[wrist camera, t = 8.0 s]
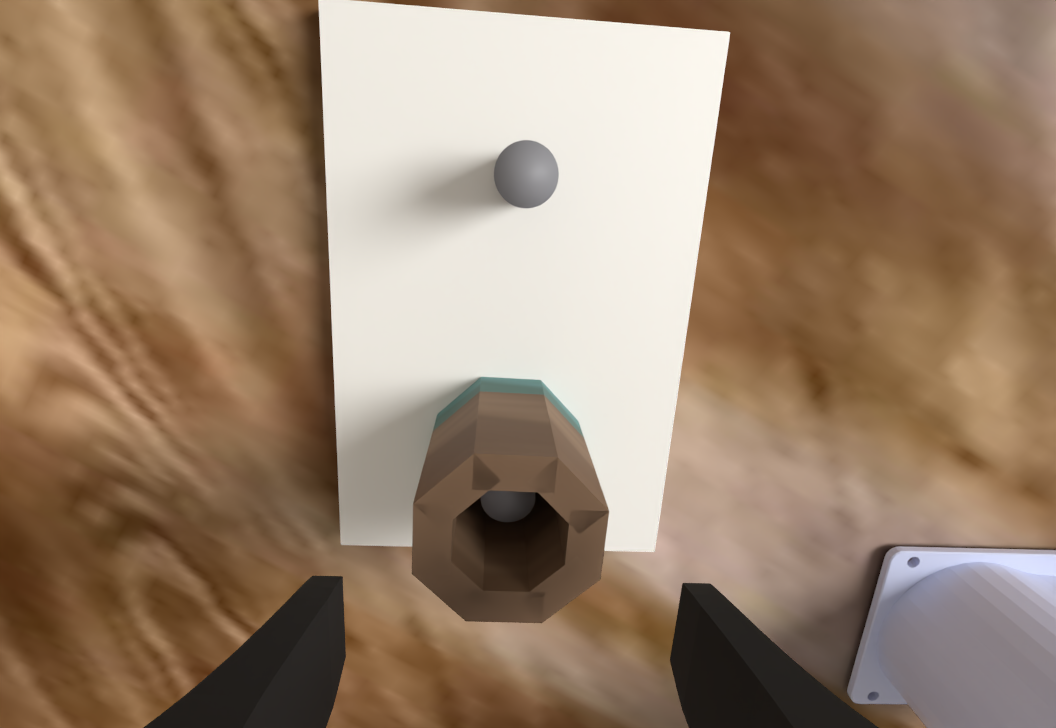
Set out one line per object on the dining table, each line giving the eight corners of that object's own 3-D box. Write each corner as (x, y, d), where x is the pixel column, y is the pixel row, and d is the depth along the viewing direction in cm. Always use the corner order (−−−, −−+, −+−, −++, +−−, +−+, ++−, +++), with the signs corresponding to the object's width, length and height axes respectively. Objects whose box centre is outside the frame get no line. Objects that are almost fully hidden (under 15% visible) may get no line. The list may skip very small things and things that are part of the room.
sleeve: (582, 382, 20) (616, 459, 14) (568, 507, 21) (594, 624, 16) (438, 374, 20) (413, 450, 14) (434, 502, 21) (411, 619, 15)
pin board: (717, 40, 18) (798, -14, 13) (648, 536, 23) (687, 627, 18) (328, 8, 17) (262, -62, 12) (347, 529, 22) (306, 621, 18)
